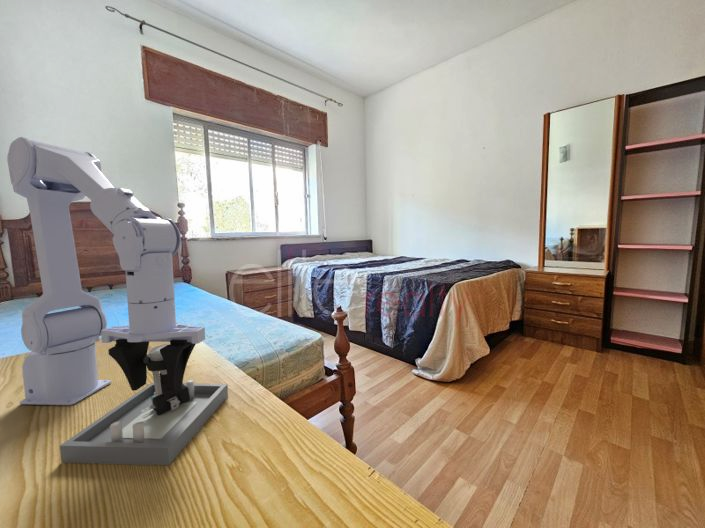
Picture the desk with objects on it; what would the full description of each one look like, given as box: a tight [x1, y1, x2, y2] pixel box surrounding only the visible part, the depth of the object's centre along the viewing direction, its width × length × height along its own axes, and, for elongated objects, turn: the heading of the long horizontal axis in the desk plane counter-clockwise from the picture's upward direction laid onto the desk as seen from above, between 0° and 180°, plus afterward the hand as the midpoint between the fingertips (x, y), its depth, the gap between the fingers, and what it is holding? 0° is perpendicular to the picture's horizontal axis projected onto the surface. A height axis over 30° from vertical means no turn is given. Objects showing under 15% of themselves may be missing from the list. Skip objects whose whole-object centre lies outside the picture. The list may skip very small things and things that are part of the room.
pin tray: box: [59, 379, 229, 466], centre depth 44 cm, size 14×16×4 cm
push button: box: [141, 343, 190, 418], centre depth 45 cm, size 7×5×10 cm
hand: (157, 387), depth 44 cm, fingers closed on push button, 5 cm apart
